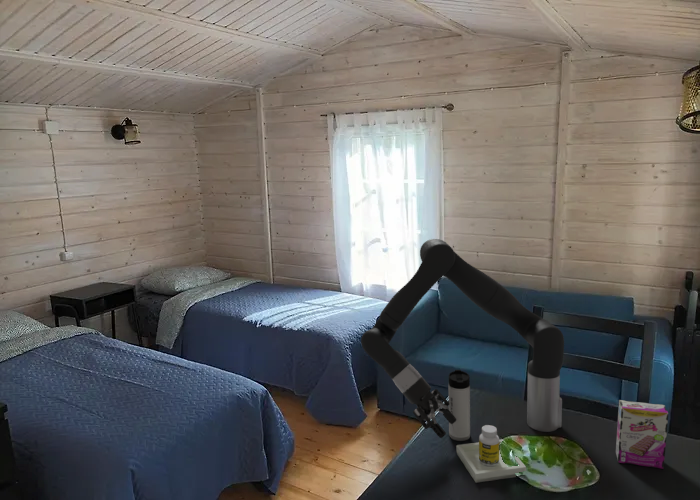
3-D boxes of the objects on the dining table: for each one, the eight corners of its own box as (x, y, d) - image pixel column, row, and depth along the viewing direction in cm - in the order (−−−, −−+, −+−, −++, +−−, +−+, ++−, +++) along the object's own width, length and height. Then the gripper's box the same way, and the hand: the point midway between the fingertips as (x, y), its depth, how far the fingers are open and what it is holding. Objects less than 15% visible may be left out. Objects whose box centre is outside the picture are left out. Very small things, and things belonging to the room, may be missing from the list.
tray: (502, 447, 150) (502, 439, 150) (525, 475, 137) (526, 466, 136) (456, 453, 148) (456, 445, 148) (475, 482, 135) (475, 473, 134)
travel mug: (468, 430, 161) (468, 369, 157) (471, 441, 154) (471, 378, 151) (448, 429, 161) (447, 369, 158) (450, 441, 155) (449, 378, 151)
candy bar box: (618, 463, 140) (620, 407, 137) (615, 453, 145) (617, 399, 142) (665, 470, 136) (669, 412, 133) (660, 459, 141) (664, 403, 138)
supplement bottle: (479, 466, 140) (479, 433, 139) (478, 455, 145) (478, 423, 144) (500, 467, 139) (500, 434, 138) (498, 456, 145) (498, 423, 143)
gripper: (409, 386, 143) (449, 434, 139) (429, 368, 155) (466, 411, 151) (392, 400, 147) (431, 447, 143) (413, 381, 159) (449, 424, 155)
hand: (449, 429), depth 147 cm, fingers open, 8 cm apart
